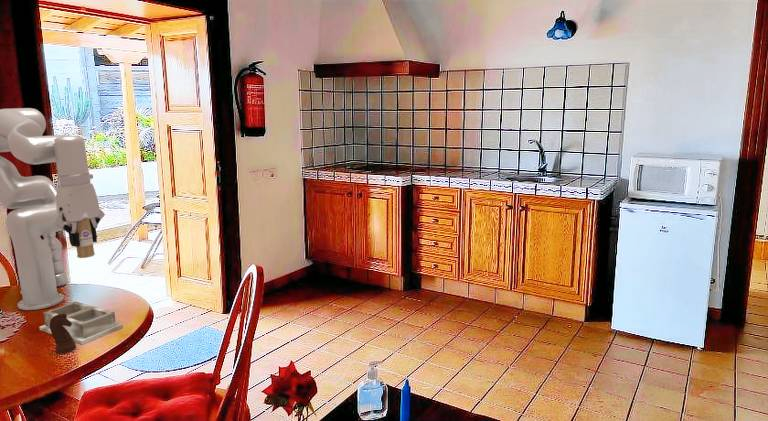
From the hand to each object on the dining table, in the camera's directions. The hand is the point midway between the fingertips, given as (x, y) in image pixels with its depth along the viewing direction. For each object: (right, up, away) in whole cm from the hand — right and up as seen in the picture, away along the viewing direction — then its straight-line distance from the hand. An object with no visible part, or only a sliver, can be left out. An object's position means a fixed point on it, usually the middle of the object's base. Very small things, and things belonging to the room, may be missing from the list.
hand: (84, 243), depth 154 cm
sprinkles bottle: (0, -4, +1) cm, 4 cm away
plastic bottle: (-29, -17, +36) cm, 50 cm away
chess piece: (+2, -27, -13) cm, 30 cm away
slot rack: (-1, -24, 0) cm, 24 cm away
